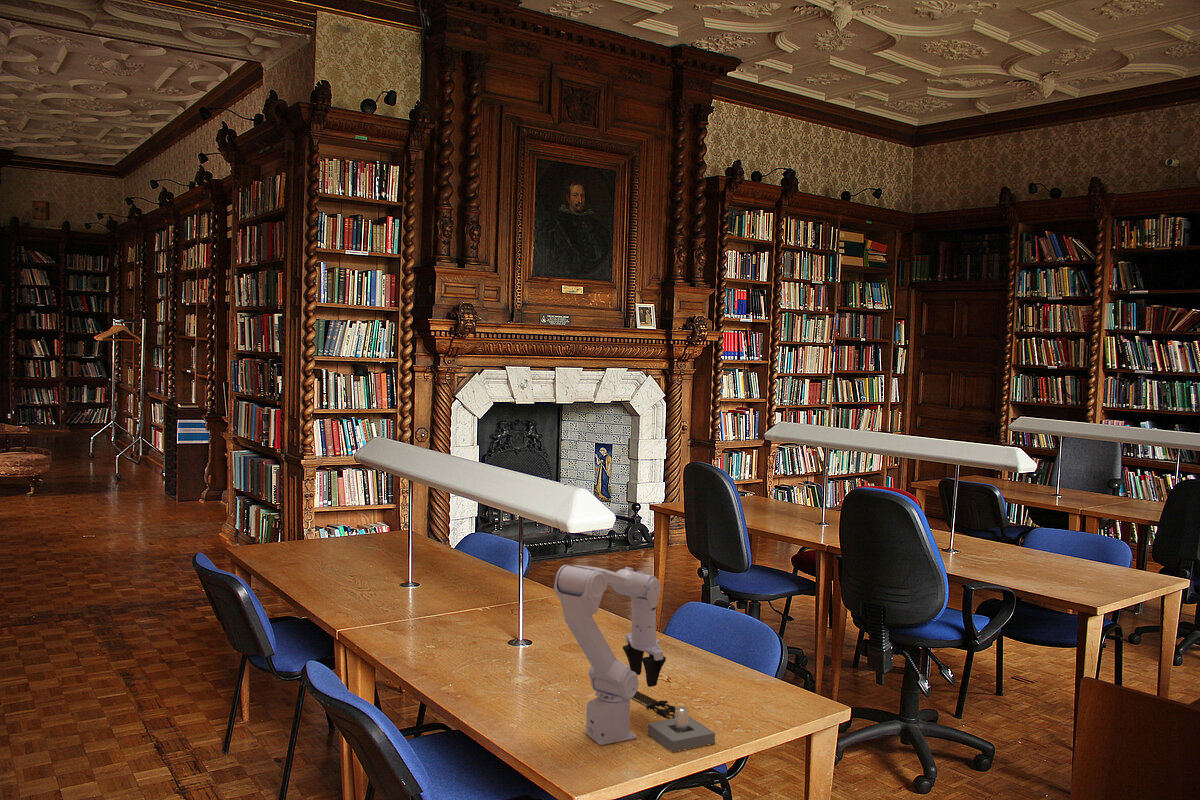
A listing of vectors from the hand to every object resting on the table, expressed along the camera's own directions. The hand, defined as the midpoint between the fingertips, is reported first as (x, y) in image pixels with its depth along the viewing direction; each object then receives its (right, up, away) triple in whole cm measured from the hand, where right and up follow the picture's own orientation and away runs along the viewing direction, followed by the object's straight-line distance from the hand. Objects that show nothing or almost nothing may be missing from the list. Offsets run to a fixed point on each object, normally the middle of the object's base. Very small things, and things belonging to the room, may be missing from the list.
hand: (644, 680), depth 219 cm
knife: (+1, -10, +11) cm, 14 cm away
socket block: (+8, -10, -11) cm, 17 cm away
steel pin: (+8, -10, -11) cm, 17 cm away
